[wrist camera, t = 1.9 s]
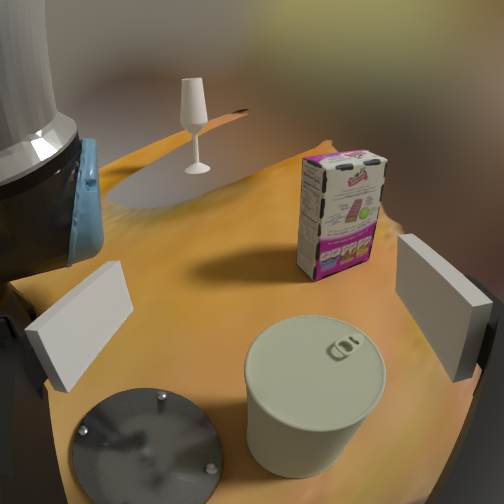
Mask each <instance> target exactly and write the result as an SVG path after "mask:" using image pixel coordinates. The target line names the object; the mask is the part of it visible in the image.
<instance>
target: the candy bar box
mask: <svg viewBox="0 0 504 504" xmlns="http://www.w3.org/2000/svg"><path fill="white" fill-rule="evenodd" d="M386 166H387V159H385V158H383V157H381V156H378V155H376V154H374V153H371V152H370V151H367V150H357V151H347V152H339V153H332V154H324V155H317V156H310V157H303V158H302V181H301V199H300V217H299V232H298V246H297V259H296V264H297V266H298V267H299V268H300V269H301V270H302V271H304V272H305V273H306V274H307V275H308V277H309V278H310V279H312V280H313V281H314V282H315V281H318V280H320V279H323V278H326V277H328V276H330V275H333V274H335V273H338V272H340V271H343V270H345V269H347V268H350V267H352V266H354V265H357V264H359V263H362V262H364V261H367V260H369V258H370V253H371V248H372V243H373V239H374V234H375V229H376V224H377V219H378V214H379V208H380V203H381V197H382V191H383V186H384V179H385V173H386Z"/></svg>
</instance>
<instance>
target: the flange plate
mask: <svg viewBox="0 0 504 504" xmlns="http://www.w3.org/2000/svg"><path fill="white" fill-rule="evenodd" d="M73 464H74V469H75V472H76V475H77V478H78V480H79V482H80V484H81V486H82V488H83V489H84V491H85V492H86V494H87V495H88V496H89V497H90V498H91V499H92V500H93V501H94V502H95V503H96V504H205V503H206V502H207V501H208V500H209V499H210V498H211V496H212V495H213V493H214V492H215V490H216V488H217V486H218V484H219V481H220V478H221V474H222V468H223V454H222V448H221V444H220V440H219V437H218V434H217V432H216V430H215V428H214V426H213V424H212V423H211V421H210V419H209V418H208V417H207V416H206V414H205V413H204V412H203V411H202V410H201V409H200V408H199V407H198V406H196V405H195V404H194V403H192V402H191V401H189V400H188V399H186V398H184V397H182V396H180V395H178V394H175V393H173V392H169V391H166V390H161V389H155V388H137V389H130V390H126V391H122V392H119V393H117V394H114V395H112V396H110V397H108V398H106V399H104V400H103V401H101V402H100V403H98V404H97V405H96V406H95V407H94V408H92V409H91V411H90V412H89V413H88V414H87V415H86V416H85V418H84V419H83V420H82V422H81V424H80V426H79V428H78V430H77V433H76V435H75V439H74V443H73Z"/></svg>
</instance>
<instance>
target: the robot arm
mask: <svg viewBox="0 0 504 504" xmlns="http://www.w3.org/2000/svg"><path fill="white" fill-rule="evenodd" d="M103 243H104V233H103V222H102V211H101V199H100V187H99V171H98V155H97V143H96V141H95V140H94V139H88V138H83V139H82V140H79V136H78V131H77V126H76V123H75V122H74V120H72V119H71V118H69V117H67V116H65V115H63V114H61V113H59V112H58V111H57V109H56V105H55V100H54V94H53V87H52V80H51V74H50V65H49V57H48V48H47V37H46V22H45V0H0V504H68V502H67V498H66V495H65V491H64V487H63V483H62V479H61V474H60V470H59V465H58V460H57V455H56V450H55V444H54V438H53V432H52V425H51V418H50V410H49V400H48V391H47V389H46V387H45V385H44V382H45V381H46V380H47V379H49V381H50V383H51V385H52V386H53V388H54V390H56V391H60V392H65V393H69V392H70V390H71V389H72V388H73V386H74V385H75V384H76V382H77V381H78V380H79V378H80V377H81V376H82V374H83V373H84V372H85V370H86V369H87V368H88V367H89V365H90V364H91V363H92V361H93V360H94V359H95V357H96V356H97V355H98V354H99V352H100V351H101V350H102V349H103V347H104V346H105V345H106V343H107V342H108V341H109V340H110V338H111V337H112V336H113V335H114V333H115V332H116V331H117V330H118V328H119V327H120V326H121V325H122V323H123V322H124V321H125V320H126V318H127V317H128V316H129V315H130V314H131V312H132V311H133V310H134V309H133V306H132V303H131V300H130V296H129V293H128V289H127V286H126V282H125V279H124V275H123V271H122V268H121V264H120V261H109V262H106V263H105V264H104V265H102V266H101V267H100V268H98V269H97V270H96V271H95V272H93V273H92V274H91V275H89V276H88V277H87V278H86V279H84V280H83V281H82V282H81V283H79V284H78V285H77V286H76V287H74V288H73V289H72V290H71V291H69V292H68V293H67V294H66V295H64V296H63V297H62V298H61V299H60V300H58V301H57V302H56V303H55V304H53V305H52V306H51V307H50V308H49V309H48V310H46V311H45V312H44V313H43V314H42V315H40V314H39V313H38V311H37V309H36V308H35V307H34V305H33V304H32V303H31V302H30V301H29V300H27V299H26V298H25V297H24V296H23V295H22V294H21V293H20V292H19V291H18V290H17V289H16V288H15V287H14V286H13V285H12V284H11V283H10V281H13V280H17V279H21V278H25V277H29V276H33V275H36V274H40V273H44V272H48V271H52V270H56V269H60V268H64V267H67V268H68V267H71V266H72V264H75V263H78V262H81V261H84V260H87V259H90V258H93V257H94V256H96V255H97V254H98V253H99V252H100V250H101V249H102V247H103ZM395 291H396V293H397V294H398V296H399V297H400V298H401V300H402V301H403V303H404V304H405V306H406V307H407V309H408V310H409V312H410V314H411V315H412V317H413V318H414V320H415V321H416V323H417V324H418V326H419V327H420V329H421V331H422V332H423V334H424V335H425V337H426V339H427V340H428V342H429V343H430V345H431V347H432V348H433V350H434V352H435V353H436V355H437V357H438V358H439V360H440V362H441V363H442V365H443V367H444V368H445V370H446V372H447V374H448V375H449V377H450V379H451V381H452V382H453V383H454V382H458V381H461V380H465V379H468V378H472V376H473V373H474V370H475V367H476V364H477V363H478V365H479V366H480V368H481V369H482V372H481V375H480V378H479V380H478V383H477V386H476V388H475V391H474V393H473V399H472V402H471V405H470V408H469V411H468V413H467V416H466V419H465V421H464V424H463V426H462V429H461V431H460V434H459V436H458V439H457V441H456V443H455V445H454V448H453V450H452V452H451V454H450V456H449V459H448V461H447V463H446V465H445V467H444V469H443V471H442V473H441V475H440V477H439V479H438V481H437V482H436V484H435V486H434V488H433V490H432V492H431V493H430V495H429V497H428V499H427V500H426V502H425V504H504V304H503V303H502V302H501V301H500V300H499V299H498V298H497V297H496V296H494V295H493V294H492V293H491V292H489V290H488V289H487V288H485V287H483V285H482V284H481V283H480V282H479V281H477V280H476V279H474V278H472V277H470V276H467V275H462V274H461V273H460V272H459V271H458V270H457V269H455V268H454V267H453V266H452V265H451V264H449V263H448V262H447V261H446V260H444V259H443V258H442V257H441V256H440V255H439V254H437V253H436V252H435V251H434V250H432V249H431V248H430V247H429V246H428V245H426V244H425V243H424V242H422V241H421V240H420V239H419V238H417V237H416V236H415V235H413V234H405V235H398V243H397V271H396V288H395Z"/></svg>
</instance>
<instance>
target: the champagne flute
mask: <svg viewBox="0 0 504 504" xmlns="http://www.w3.org/2000/svg"><path fill="white" fill-rule="evenodd" d="M207 120H208V119H207V113H206V106H205V98H204V91H203V84H202V78H189V79H182V93H181V124H182V126H183V127H184V128H185V129H186V130H187V131H188V132H189V133H191V134H193V148H194V162H195V163H193V164H192V165H190V166H189V167H187V168H186V169H185V172H186V173H190V174H198V173H203V172H207V171H208V170H209V169H210V167H209V166H206V165H204V164H202V163H200V162H199V155H198V140H197V133H199V132H200V131H201V130H202V129H203V128H204V126H205V125H206V123H207Z"/></svg>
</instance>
